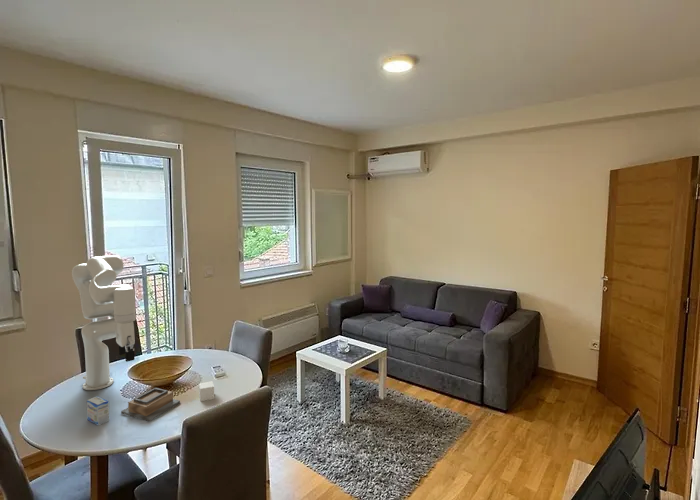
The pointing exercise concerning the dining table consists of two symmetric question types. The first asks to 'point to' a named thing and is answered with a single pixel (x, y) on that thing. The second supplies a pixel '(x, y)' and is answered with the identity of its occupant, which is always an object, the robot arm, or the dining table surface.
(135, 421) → the dining table surface
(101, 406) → the medicine box
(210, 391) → the white cube
